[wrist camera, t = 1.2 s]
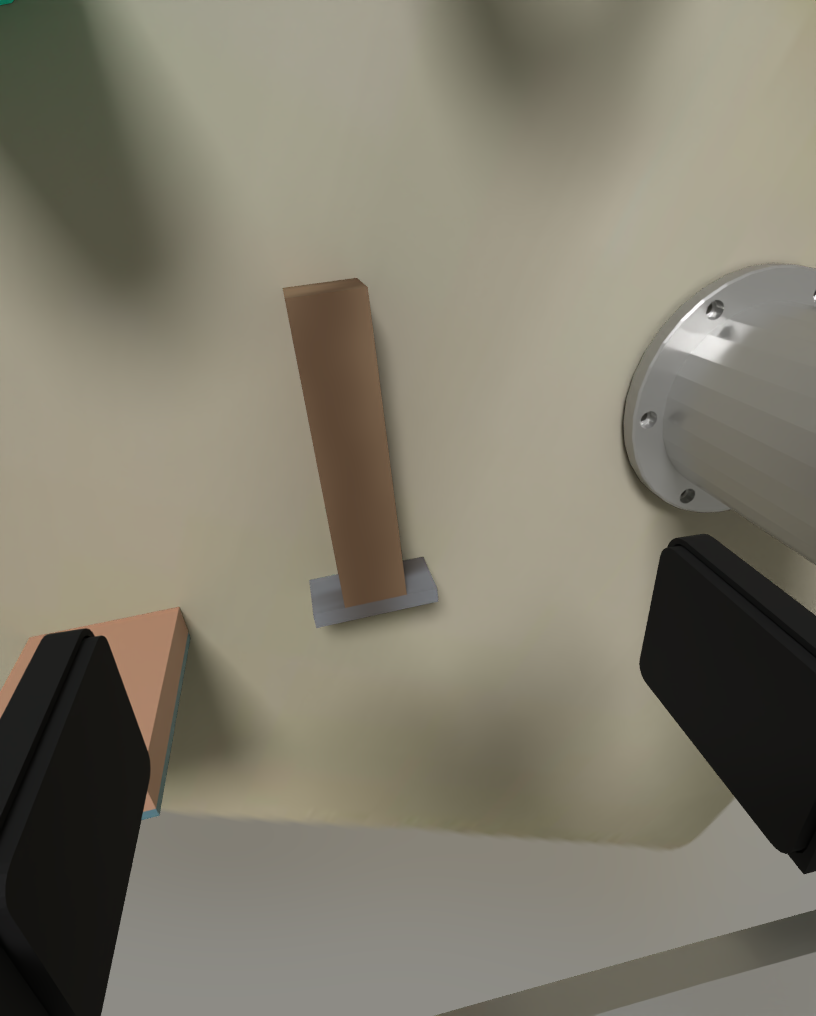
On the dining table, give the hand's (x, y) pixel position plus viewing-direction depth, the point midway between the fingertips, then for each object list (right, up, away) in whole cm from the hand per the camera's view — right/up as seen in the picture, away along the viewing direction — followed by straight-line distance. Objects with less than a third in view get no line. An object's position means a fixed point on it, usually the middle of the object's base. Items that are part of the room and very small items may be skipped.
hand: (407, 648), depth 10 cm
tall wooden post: (-3, +5, +17) cm, 18 cm away
